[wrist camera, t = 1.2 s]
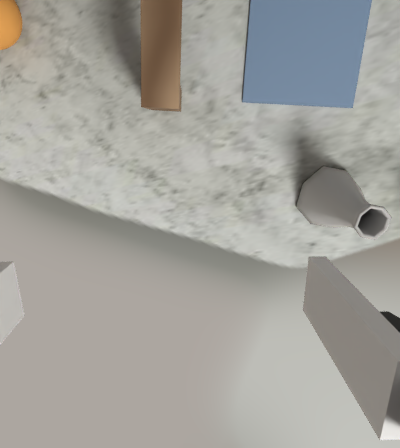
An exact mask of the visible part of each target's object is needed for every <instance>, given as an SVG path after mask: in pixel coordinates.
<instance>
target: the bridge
mask: <svg viewBox="0 0 400 448" xmlns="http://www.w3.org/2000/svg"><path fill="white" fill-rule="evenodd" d="M181 27H182V0H141V107H144V108H147V109H151V110H162V111H181V94H182V91H181V86H180V65H181Z"/></svg>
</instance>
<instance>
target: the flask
mask: <svg viewBox="0 0 400 448" xmlns="http://www.w3.org/2000/svg"><path fill="white" fill-rule="evenodd" d="M296 207H297V208H298V209H299V211H300V212H301V213H302V214H303V215H304V216H305V218H306V219H307V220H308V221H309V222H310V224H315V225H321V226H327V227H332V228H338V227H352V228H354V229H355V230H356V232H357V233H358V234H359V235H360V237H362V238H368V239H374V240H375V239H377V238H378V237H379V236H381V235H382V234H383V233H384V232H386V231H387V229H388V226H389V223H390V221H391V218H392V217H391V216H390V214H389V213H388V212H387V210H386V209H385V208H384V207H382V206H377V205H371V204H369V203H368V202H367V201H366V200H365V198H364V195H363V193H362V191H361V189H360V187H359V186H358V185H357V184H356V182H355V181H354V180H353V178H352V177H351V176H350V174H349V173H348V172H347V171H345V170H340V169H335V168H330V167H325V166H323V167H322V168H320V169H319V170H318V171H317V172H316V173H314V174H313V175H312V176H311V177H310V178H309V179H307V180H306V181H305V182H304V183H303V185H302V189H301V192H300V196H299V199H298V203H297V206H296Z"/></svg>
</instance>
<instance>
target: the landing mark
mask: <svg viewBox="0 0 400 448" xmlns="http://www.w3.org/2000/svg"><path fill="white" fill-rule="evenodd" d="M371 2H372V0H250V13H249V25H248V38H247V50H246V62H245V75H244V87H243V99H242V102H248V103H267V104H286V105H305V106H324V107H343V108H353V103H354V98H355V92H356V86H357V81H358V75H359V69H360V64H361V58H362V53H363V47H364V41H365V36H366V30H367V24H368V19H369V13H370V8H371Z"/></svg>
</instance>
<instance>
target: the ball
mask: <svg viewBox="0 0 400 448" xmlns="http://www.w3.org/2000/svg"><path fill="white" fill-rule="evenodd" d="M21 31H22V17H21V13H20V10H19V8H18V6H17V4H16V2H15V1H14V0H0V50H3V49H6V48H9V47H11V46H12V45H13V44H15V43H16V41H17V40H18V39H19V37H20V34H21Z"/></svg>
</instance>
